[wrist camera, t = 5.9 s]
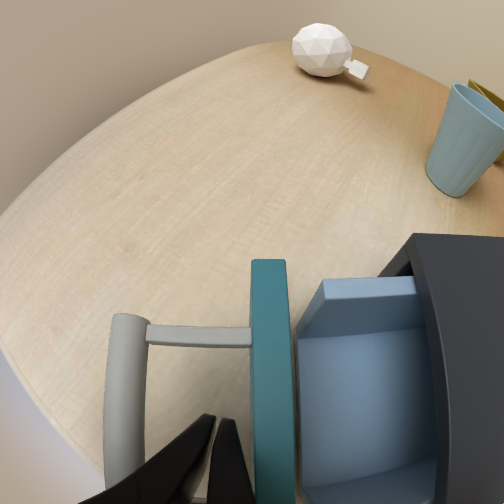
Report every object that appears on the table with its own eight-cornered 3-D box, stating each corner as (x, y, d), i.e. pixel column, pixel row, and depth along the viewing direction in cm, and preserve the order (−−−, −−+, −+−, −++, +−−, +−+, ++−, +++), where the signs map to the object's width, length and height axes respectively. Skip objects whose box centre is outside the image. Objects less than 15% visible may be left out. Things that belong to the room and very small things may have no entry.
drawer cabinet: (355, 497, 11) (436, 546, 3) (345, 311, 17) (412, 232, 10) (506, 431, 11) (587, 413, 3) (488, 295, 18) (556, 240, 10)
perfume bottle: (272, 62, 33) (348, 98, 31) (293, 9, 27) (375, 42, 25) (296, 64, 39) (360, 96, 37) (315, 20, 33) (383, 51, 30)
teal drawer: (163, 500, 10) (108, 551, 4) (166, 317, 16) (118, 254, 10) (455, 458, 11) (536, 458, 4) (440, 306, 16) (508, 253, 10)
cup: (480, 211, 22) (529, 143, 14) (429, 200, 23) (478, 115, 14) (457, 164, 26) (491, 99, 18) (408, 150, 27) (440, 74, 18)
